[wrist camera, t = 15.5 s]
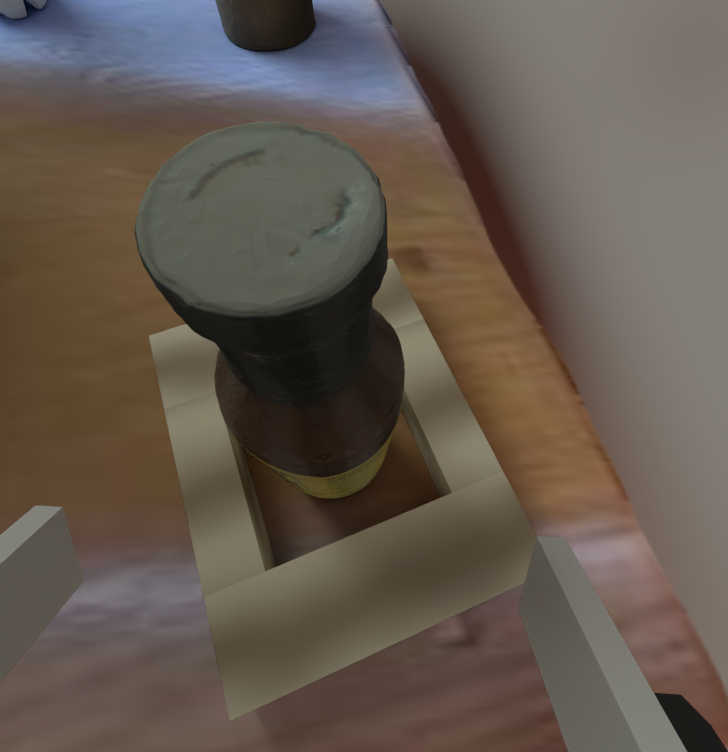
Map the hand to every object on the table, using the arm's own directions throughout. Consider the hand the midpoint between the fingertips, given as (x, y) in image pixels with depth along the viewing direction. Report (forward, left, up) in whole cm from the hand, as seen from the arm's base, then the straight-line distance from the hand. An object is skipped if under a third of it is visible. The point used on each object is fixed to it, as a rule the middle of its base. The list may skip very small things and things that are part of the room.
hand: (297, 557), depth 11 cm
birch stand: (-5, +2, -12) cm, 13 cm away
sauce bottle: (-5, +2, -12) cm, 14 cm away
